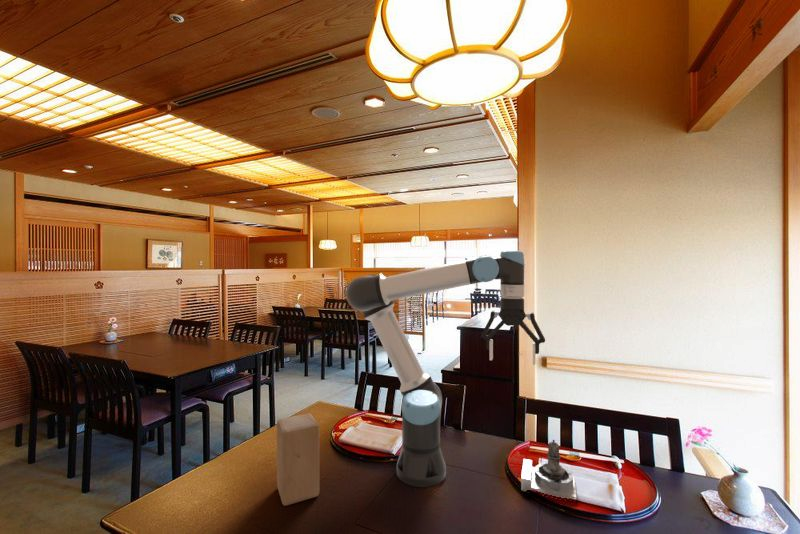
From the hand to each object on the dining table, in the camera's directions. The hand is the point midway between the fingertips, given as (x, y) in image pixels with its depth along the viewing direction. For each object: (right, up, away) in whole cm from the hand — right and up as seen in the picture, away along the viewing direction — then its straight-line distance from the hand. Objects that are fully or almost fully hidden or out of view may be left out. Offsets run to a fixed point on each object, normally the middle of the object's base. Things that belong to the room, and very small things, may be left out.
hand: (512, 361), depth 119 cm
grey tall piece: (+7, -31, -16) cm, 35 cm away
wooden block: (-66, -32, -18) cm, 75 cm away
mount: (+6, -32, -15) cm, 36 cm away
